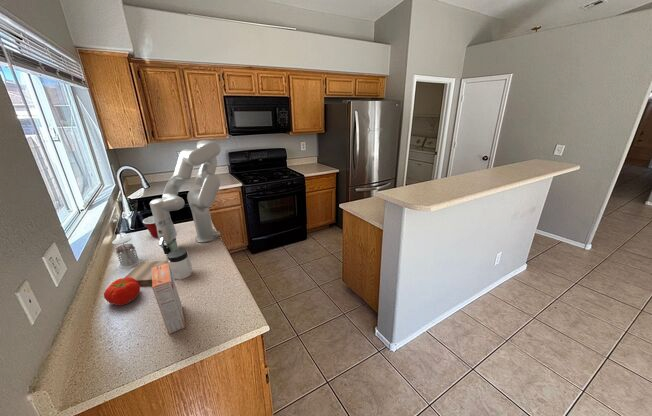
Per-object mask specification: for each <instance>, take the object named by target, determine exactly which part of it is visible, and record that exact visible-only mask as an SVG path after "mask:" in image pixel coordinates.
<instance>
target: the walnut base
mask: <svg viewBox="0 0 652 416" xmlns="http://www.w3.org/2000/svg"><path fill="white" fill-rule="evenodd" d="M168 261H169V260H168V259H167V260H156V261H154V260H153V261H141V262H140V263H138V264H137V265H135V267H134V268H133V269H132V270H131V271H129V272H128V273H127V274H126V275H125V276H124V277H123V278H124V279H125V278H126V277H131V278H134V279H135V280H137V281H138V283H139V287H144V286H152V268H153V267H156V266H160V265H163V264H167V263H168Z"/></svg>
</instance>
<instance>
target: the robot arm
mask: <svg viewBox="0 0 652 416" xmlns="http://www.w3.org/2000/svg"><path fill="white" fill-rule="evenodd" d="M221 150H222V149H221V146H220V144H219V142H216V141H214V140H207V139H203V140H199V141H197V143H196V148H195V149H190V148H189V149H187V148H185V149H183V150H181V151H180V153H179V156H178V159H177V162H176V165H175V169H174V172H173V174H172V176H171V177H170V179H169V180H168V181H167V183H166V184H165V187H164V190H163V193H162V196H161V198H154V199H152V200H151V201H150V202H149V206H150V211H151V213H152V216H153V217H154V221H155V224H156V226H157V233H158V241H159V243H158V246H159V247H160V248H161V249H162V250H163V253H164V255H165V254H169V253H170V252H171V251H170V248H169V247H168V243H170V242H171V241H173V240H176V241H177V235H178V234H177V230H176V227H175V225H174V223H173V221H172V218H171V214H170V212H172V211H179V210H180V209H183V208H184V207H185V200H184V199H183V197H180V196H179V195H178V194H179V191H180V189H181V187H182V186H184V184H186V183H188V182H190V181H191V179H192V175H193V172H194V168H195V167H199V168H198V170H197V171H198V172H197V174H196V177H195V184H196V185H197V186H198V187H200V188H192V189H191V190H189V191H188V193H187V194H186V195H187V197H186V199H187V202H188V205H189V208H190V210H191V214H192V215H191V216H192V218H193V223H194V227H195V231H196V232H195V233H196V235H197V236H195V238H194V241H195V242H196V243H201V244H202V243H203V244H204V243H209V242H212V241H214V240H216V239H217V238H218V236H219V237H221V235H222V233H221V231H217V230H216V229H215V228H214V225H213V222H212V216H211V211H210V207H212V206H213V204H214V203H215V200H216V198H217V194H218V193H219V189H220V186H221V180H220V177H219V176H218V175H217V174H216V170H217V168H218V167H217V166H218V160H217V157H218V156H219V155H220V153H221ZM164 243H166V245H164Z"/></svg>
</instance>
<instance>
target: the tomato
mask: <svg viewBox="0 0 652 416" xmlns="http://www.w3.org/2000/svg"><path fill="white" fill-rule="evenodd" d="M125 277H126V276H125ZM140 292H141V286H139V283H138V281H137V280H135V279H134V278H131V277H126V278H125V279H124V277H123V278H122V277H121V278H117V279H116V280H114V281H113V282H111V284H110V285H108V287H107V288H106V289H105V291H104V293H103V298H104V299H105V301H106V302H107V303H109V304H110V305H116V306H124V305H127V304H129V303H130V302H131V301H133V300H135V298H137V296H139V293H140Z"/></svg>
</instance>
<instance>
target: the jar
mask: <svg viewBox="0 0 652 416" xmlns="http://www.w3.org/2000/svg"><path fill="white" fill-rule="evenodd" d="M167 260H169V261H168V263H169V266H170V269H171V272H172V275H173V279H174V280H183V279H185V278H188V277H190V276H191V275H192V273H193V267H192V263H191V259H190V255H189V254H188V251H187V249H185V248H178V249H177V250H174V251H171V252H170V253H169V254H168V255H167Z"/></svg>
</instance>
